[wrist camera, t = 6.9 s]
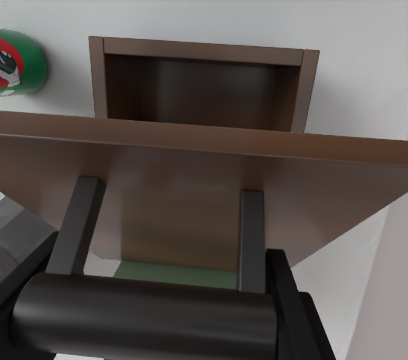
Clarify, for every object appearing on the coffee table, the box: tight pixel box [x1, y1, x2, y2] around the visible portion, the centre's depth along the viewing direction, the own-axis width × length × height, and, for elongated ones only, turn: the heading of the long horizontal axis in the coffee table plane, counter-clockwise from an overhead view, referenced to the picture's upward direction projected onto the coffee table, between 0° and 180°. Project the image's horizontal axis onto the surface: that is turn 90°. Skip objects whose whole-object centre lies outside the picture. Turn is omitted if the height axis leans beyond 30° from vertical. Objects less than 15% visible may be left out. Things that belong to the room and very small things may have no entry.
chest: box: [89, 36, 320, 133], centre depth 22 cm, size 15×13×8 cm
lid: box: [0, 111, 408, 360], centre depth 13 cm, size 16×13×5 cm
